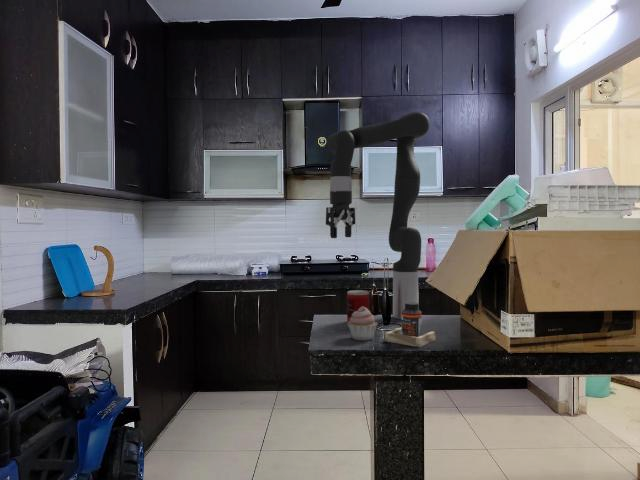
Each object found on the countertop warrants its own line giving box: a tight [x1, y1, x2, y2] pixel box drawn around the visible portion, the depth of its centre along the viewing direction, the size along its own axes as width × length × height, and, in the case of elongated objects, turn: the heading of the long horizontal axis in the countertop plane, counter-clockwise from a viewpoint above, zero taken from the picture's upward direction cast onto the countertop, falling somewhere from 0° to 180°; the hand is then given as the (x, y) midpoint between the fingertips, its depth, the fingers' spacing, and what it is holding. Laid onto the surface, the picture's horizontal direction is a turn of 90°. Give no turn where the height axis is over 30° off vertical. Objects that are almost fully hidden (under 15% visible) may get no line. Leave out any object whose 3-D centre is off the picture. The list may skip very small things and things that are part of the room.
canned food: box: [346, 289, 370, 323], centre depth 177 cm, size 8×8×11 cm
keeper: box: [384, 327, 436, 348], centre depth 151 cm, size 10×11×2 cm
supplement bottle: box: [401, 302, 423, 337], centre depth 151 cm, size 6×6×11 cm
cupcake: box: [346, 306, 378, 342], centre depth 154 cm, size 9×9×10 cm
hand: (341, 237), depth 173 cm, fingers open, 8 cm apart
